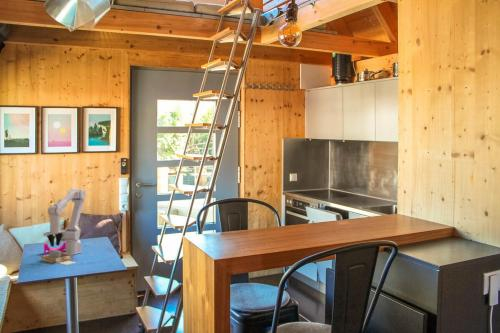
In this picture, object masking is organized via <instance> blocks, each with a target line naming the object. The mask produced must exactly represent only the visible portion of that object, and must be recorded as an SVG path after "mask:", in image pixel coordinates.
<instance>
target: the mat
mask: <svg viewBox="0 0 500 333" xmlns="http://www.w3.org/2000/svg"><path fill="white" fill-rule="evenodd" d="M76 263H77V262H76V261H72V260H67V261H63V262H59V264H61V265H65V266H68V265H72V264H76Z"/></svg>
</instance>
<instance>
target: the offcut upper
mask: <svg viewBox="0 0 500 333" xmlns="http://www.w3.org/2000/svg"><path fill="white" fill-rule="evenodd" d="M61 256H63V257H66V256H70V255H69V254H67V253H66V252H61Z"/></svg>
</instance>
